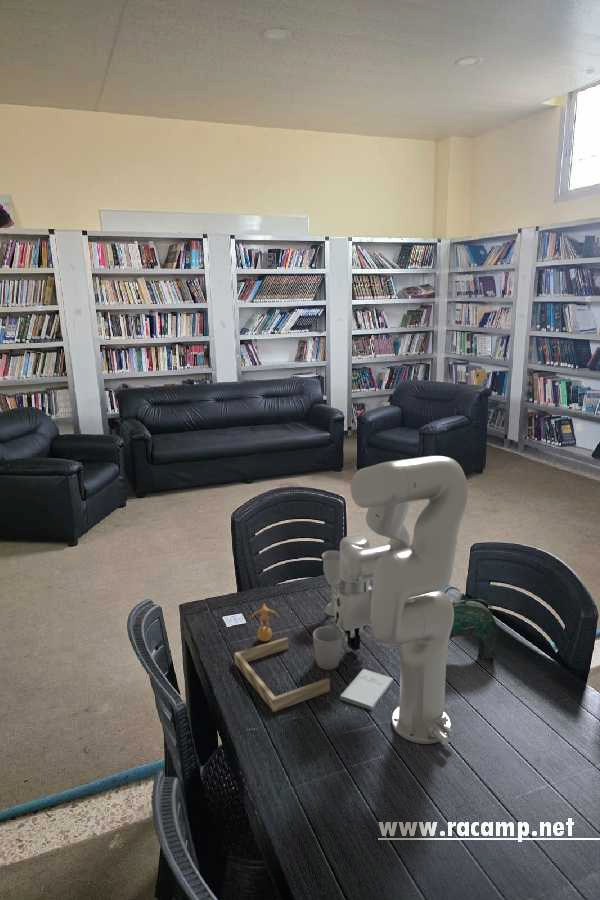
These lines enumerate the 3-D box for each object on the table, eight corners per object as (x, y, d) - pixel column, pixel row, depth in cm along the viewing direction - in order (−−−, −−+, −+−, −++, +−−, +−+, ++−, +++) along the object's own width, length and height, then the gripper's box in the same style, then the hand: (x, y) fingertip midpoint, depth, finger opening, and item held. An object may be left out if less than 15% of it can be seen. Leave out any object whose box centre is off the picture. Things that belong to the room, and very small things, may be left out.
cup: (314, 673, 154) (314, 642, 152) (310, 651, 164) (310, 622, 162) (344, 671, 155) (344, 641, 153) (339, 649, 165) (339, 620, 163)
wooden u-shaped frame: (329, 691, 147) (329, 680, 147) (273, 711, 140) (273, 700, 140) (286, 647, 166) (286, 637, 165) (234, 663, 159) (234, 652, 158)
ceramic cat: (420, 664, 157) (423, 592, 153) (415, 650, 164) (417, 581, 159) (498, 662, 158) (503, 590, 153) (489, 648, 164) (494, 579, 159)
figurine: (279, 635, 172) (278, 595, 169) (281, 647, 166) (280, 606, 163) (249, 637, 171) (247, 598, 168) (250, 649, 165) (248, 608, 162)
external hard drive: (339, 701, 145) (362, 673, 155) (372, 712, 141) (393, 683, 151) (339, 695, 144) (362, 667, 155) (372, 706, 140) (393, 677, 151)
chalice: (345, 617, 181) (345, 560, 176) (322, 617, 181) (321, 560, 177) (344, 605, 188) (344, 550, 184) (321, 605, 188) (321, 550, 184)
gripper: (337, 596, 152) (337, 663, 156) (386, 582, 159) (385, 646, 163) (321, 584, 158) (322, 648, 163) (370, 571, 165) (369, 633, 170)
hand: (353, 647), depth 163 cm, fingers closed
